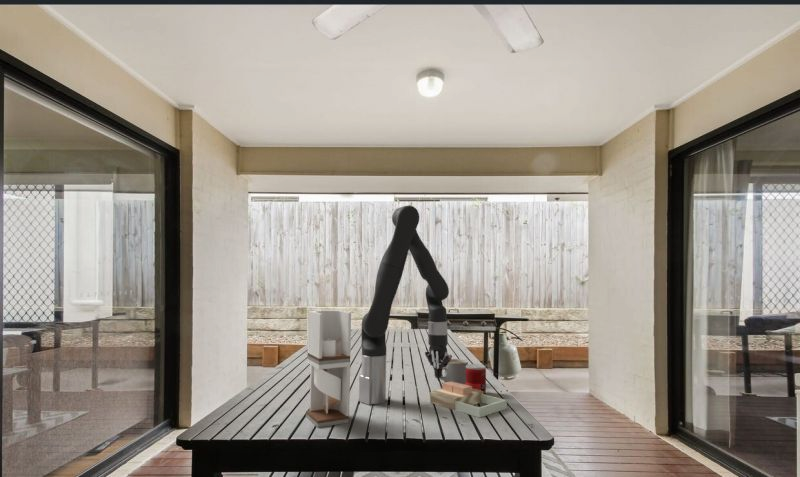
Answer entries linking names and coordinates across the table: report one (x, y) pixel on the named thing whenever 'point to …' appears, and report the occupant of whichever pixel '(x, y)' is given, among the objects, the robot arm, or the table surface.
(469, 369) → the canned food
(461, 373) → the coffee mug
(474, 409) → the tray
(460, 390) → the tile front
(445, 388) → the tile back
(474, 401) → the plate
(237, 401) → the table surface
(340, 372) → the display case
